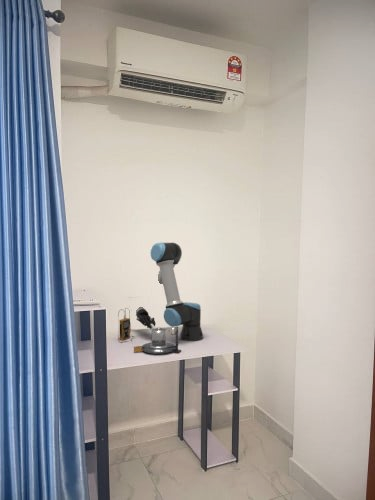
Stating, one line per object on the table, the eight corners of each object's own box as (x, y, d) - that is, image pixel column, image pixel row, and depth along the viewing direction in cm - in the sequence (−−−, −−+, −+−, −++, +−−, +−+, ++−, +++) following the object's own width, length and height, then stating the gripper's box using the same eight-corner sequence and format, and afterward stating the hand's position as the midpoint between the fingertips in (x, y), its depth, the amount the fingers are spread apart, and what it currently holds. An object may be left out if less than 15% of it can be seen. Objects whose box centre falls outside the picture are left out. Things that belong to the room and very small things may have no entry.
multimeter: (127, 344, 226) (127, 311, 226) (115, 341, 232) (115, 310, 231) (142, 338, 239) (142, 308, 238) (130, 336, 244) (130, 306, 244)
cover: (165, 343, 221) (165, 325, 221) (169, 348, 211) (170, 329, 210) (147, 344, 218) (147, 326, 218) (151, 350, 208) (151, 331, 207)
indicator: (181, 351, 213) (181, 326, 212) (178, 353, 208) (178, 328, 208) (169, 349, 215) (170, 325, 215) (166, 352, 210) (166, 327, 210)
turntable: (170, 343, 227) (170, 339, 227) (179, 352, 209) (179, 348, 208) (131, 346, 220) (131, 342, 220) (137, 356, 201) (137, 352, 201)
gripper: (148, 319, 254) (161, 336, 234) (131, 317, 247) (143, 335, 228) (151, 309, 253) (165, 325, 233) (134, 307, 246) (147, 324, 226)
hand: (154, 330), depth 230 cm, fingers closed
